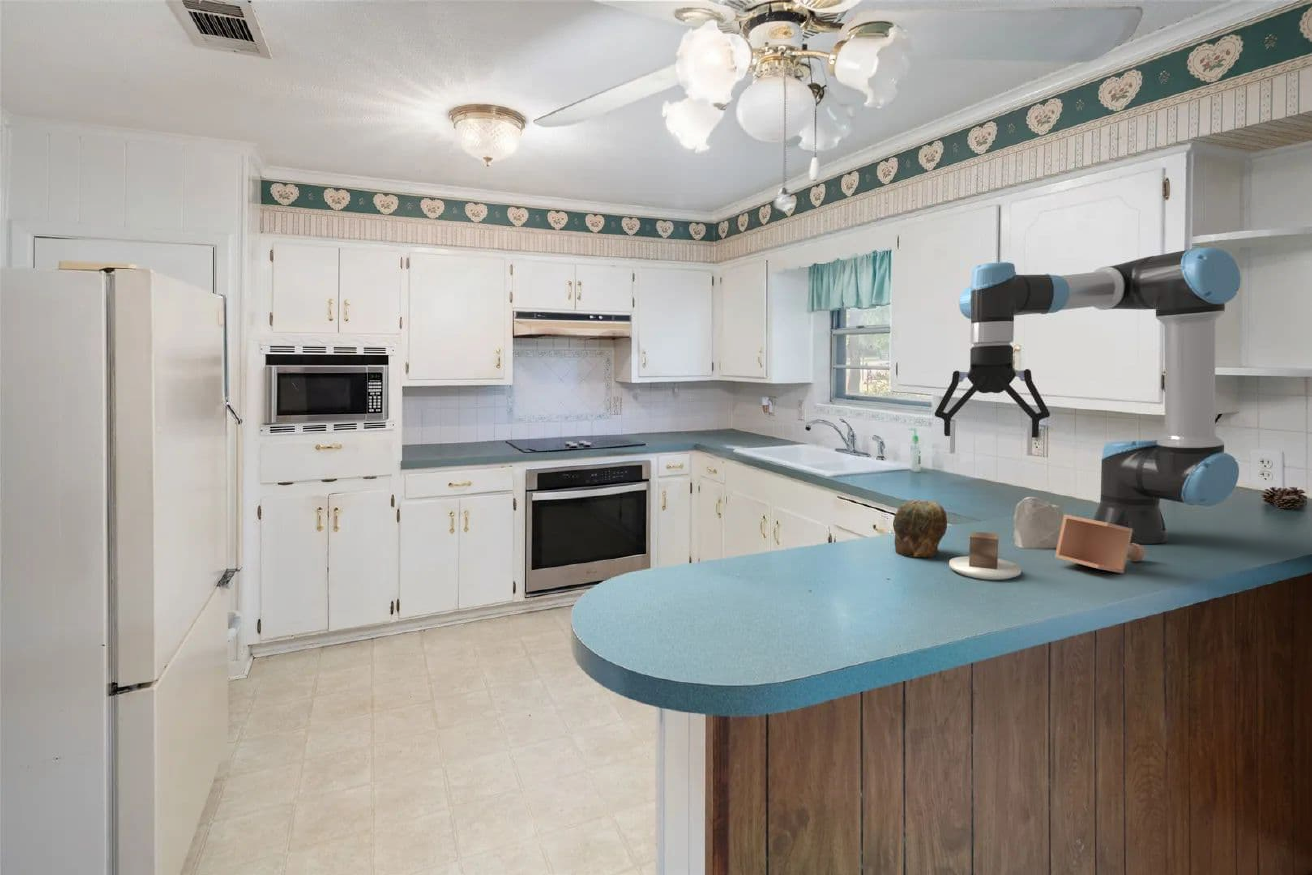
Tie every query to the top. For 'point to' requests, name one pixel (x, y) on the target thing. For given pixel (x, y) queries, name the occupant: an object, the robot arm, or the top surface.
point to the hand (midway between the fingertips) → (989, 453)
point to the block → (983, 550)
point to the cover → (1097, 544)
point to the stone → (1037, 524)
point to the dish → (985, 569)
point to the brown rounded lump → (919, 528)
